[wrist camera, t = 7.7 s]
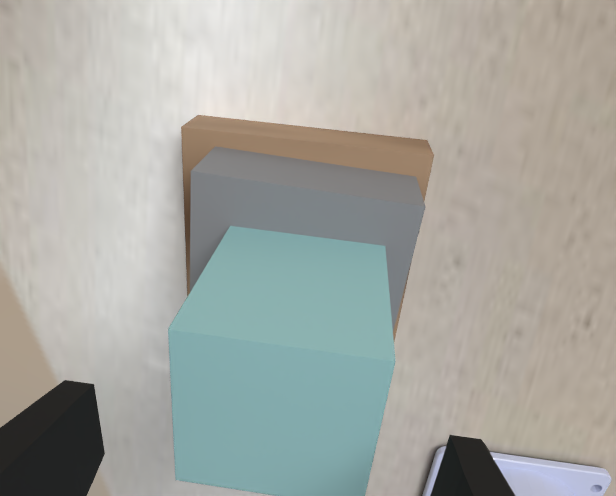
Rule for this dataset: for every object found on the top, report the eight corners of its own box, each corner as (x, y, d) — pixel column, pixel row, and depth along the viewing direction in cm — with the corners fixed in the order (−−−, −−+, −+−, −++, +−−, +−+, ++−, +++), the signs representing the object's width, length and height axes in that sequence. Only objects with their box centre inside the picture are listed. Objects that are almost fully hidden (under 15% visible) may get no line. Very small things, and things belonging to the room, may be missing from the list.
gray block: (377, 337, 18) (379, 384, 16) (209, 310, 19) (189, 353, 16) (416, 176, 15) (425, 206, 13) (215, 146, 16) (190, 170, 13)
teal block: (362, 367, 16) (361, 509, 11) (227, 348, 16) (175, 479, 12) (385, 245, 14) (395, 361, 9) (230, 225, 14) (168, 329, 10)
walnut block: (388, 318, 21) (391, 355, 19) (206, 294, 21) (188, 329, 19) (425, 135, 17) (433, 155, 15) (204, 110, 18) (181, 126, 15)
